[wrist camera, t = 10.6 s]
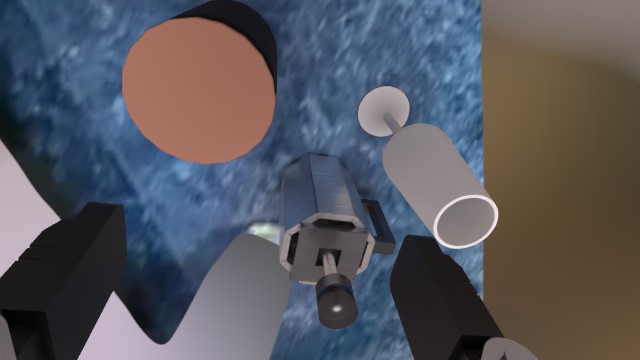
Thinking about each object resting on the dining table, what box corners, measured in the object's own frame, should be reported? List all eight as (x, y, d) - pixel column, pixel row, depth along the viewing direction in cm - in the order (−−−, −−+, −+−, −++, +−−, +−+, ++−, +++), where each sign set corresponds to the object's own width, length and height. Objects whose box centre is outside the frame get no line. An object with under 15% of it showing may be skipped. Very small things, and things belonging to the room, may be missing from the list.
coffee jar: (194, -20, 38) (136, -13, 23) (290, 23, 41) (298, 55, 26) (170, 77, 43) (109, 138, 27) (259, 109, 46) (249, 181, 30)
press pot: (286, 149, 49) (288, 214, 36) (379, 161, 51) (414, 227, 38) (276, 211, 53) (275, 288, 40) (362, 220, 55) (388, 296, 42)
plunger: (295, 174, 46) (304, 281, 30) (352, 181, 47) (389, 288, 31) (287, 222, 49) (290, 341, 33) (339, 227, 50) (367, 344, 35)
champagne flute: (353, 134, 49) (409, 257, 28) (363, 83, 45) (434, 178, 25) (402, 138, 50) (492, 260, 29) (415, 88, 46) (526, 185, 26)
